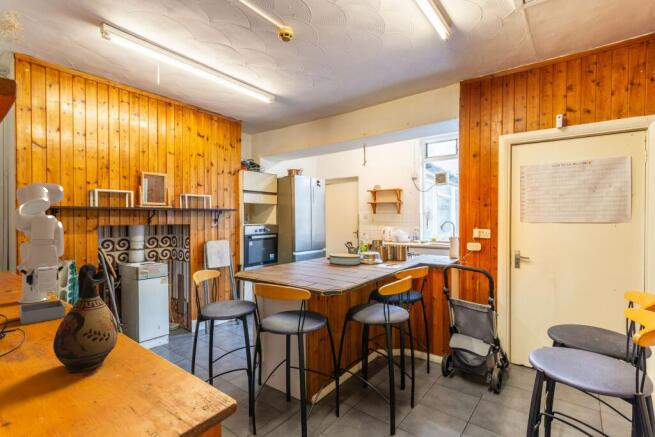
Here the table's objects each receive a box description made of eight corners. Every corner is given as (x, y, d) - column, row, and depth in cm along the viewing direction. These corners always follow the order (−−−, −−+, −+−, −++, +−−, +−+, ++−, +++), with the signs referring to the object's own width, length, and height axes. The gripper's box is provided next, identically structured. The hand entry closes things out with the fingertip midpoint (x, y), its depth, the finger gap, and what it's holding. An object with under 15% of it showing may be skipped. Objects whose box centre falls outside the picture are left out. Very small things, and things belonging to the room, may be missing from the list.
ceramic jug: (127, 362, 97) (127, 263, 97) (64, 383, 84) (64, 270, 84) (103, 348, 107) (103, 259, 107) (43, 366, 94) (44, 265, 94)
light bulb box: (28, 290, 139) (28, 266, 140) (47, 288, 145) (47, 264, 145) (37, 293, 134) (37, 268, 134) (57, 290, 140) (57, 266, 140)
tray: (19, 316, 140) (19, 305, 140) (60, 310, 150) (60, 299, 150) (21, 325, 130) (21, 312, 130) (65, 317, 140) (65, 306, 140)
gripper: (66, 241, 149) (66, 279, 149) (14, 243, 136) (14, 284, 136) (69, 242, 144) (69, 281, 143) (15, 244, 131) (15, 287, 131)
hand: (42, 282), depth 140 cm, fingers closed on light bulb box, 7 cm apart
